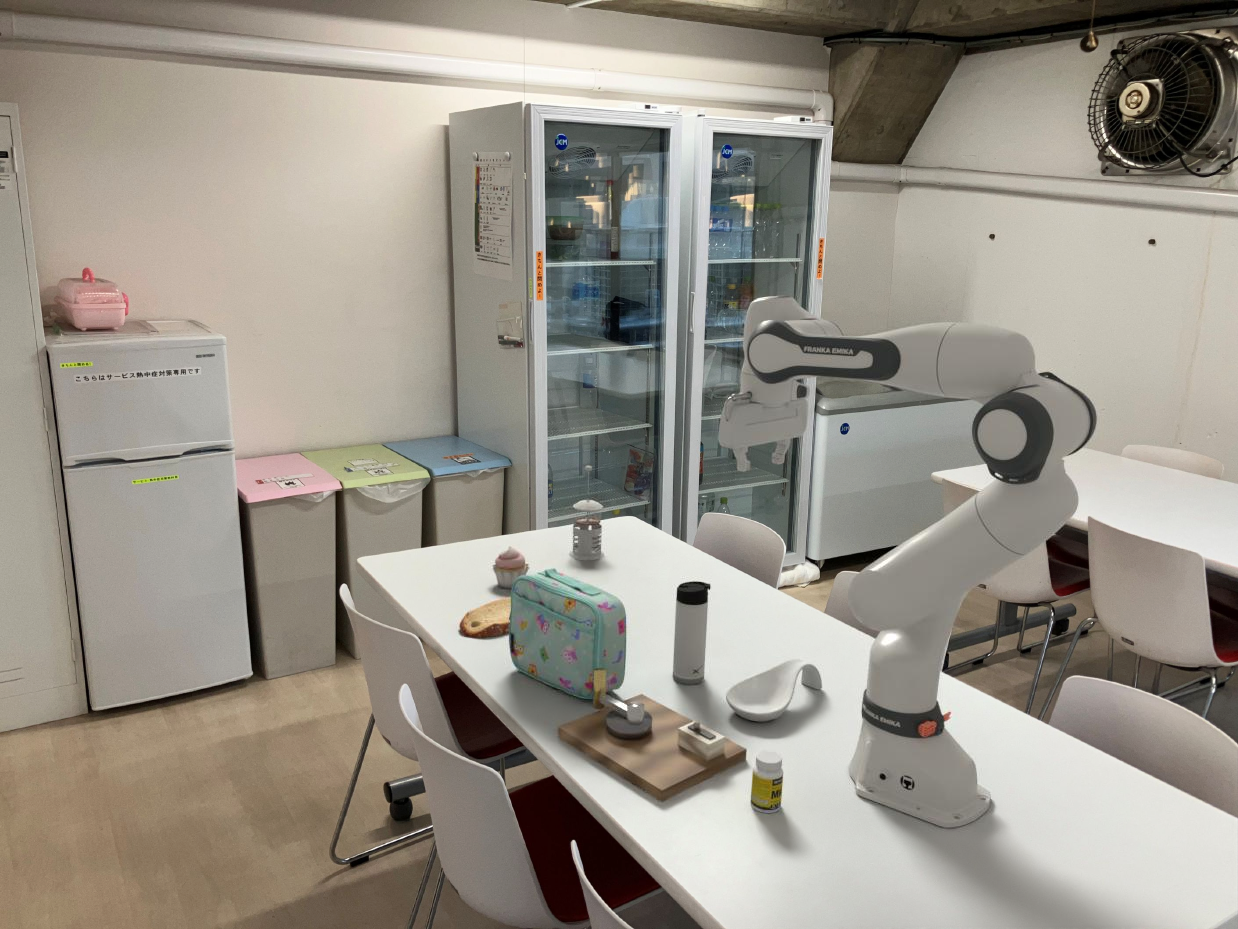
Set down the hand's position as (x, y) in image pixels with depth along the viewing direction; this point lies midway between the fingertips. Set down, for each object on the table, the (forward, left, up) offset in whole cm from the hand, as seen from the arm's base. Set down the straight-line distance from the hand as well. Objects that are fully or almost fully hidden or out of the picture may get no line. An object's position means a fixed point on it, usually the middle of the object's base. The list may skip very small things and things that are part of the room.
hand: (760, 466), depth 175 cm
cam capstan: (+8, +25, -44) cm, 52 cm away
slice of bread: (+64, +12, -47) cm, 80 cm away
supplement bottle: (-23, +22, -47) cm, 57 cm away
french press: (+88, -35, -47) cm, 105 cm away
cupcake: (+81, -4, -47) cm, 93 cm away
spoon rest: (-2, -6, -47) cm, 48 cm away
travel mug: (+16, -1, -47) cm, 50 cm away
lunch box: (+31, +19, -47) cm, 59 cm away
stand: (+1, +24, -47) cm, 53 cm away
